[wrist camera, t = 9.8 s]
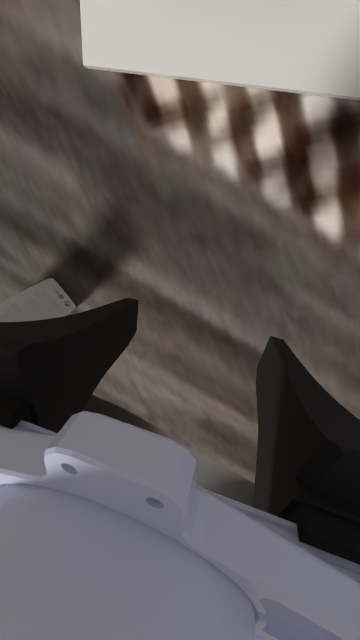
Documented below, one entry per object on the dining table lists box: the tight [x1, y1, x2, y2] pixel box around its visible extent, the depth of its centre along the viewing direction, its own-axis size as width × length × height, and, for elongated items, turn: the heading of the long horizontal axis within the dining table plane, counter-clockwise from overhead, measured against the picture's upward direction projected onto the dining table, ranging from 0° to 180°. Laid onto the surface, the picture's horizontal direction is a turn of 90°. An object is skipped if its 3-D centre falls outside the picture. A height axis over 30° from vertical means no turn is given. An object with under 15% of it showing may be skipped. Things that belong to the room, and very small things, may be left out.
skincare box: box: [0, 278, 76, 322], centre depth 22 cm, size 6×4×12 cm
